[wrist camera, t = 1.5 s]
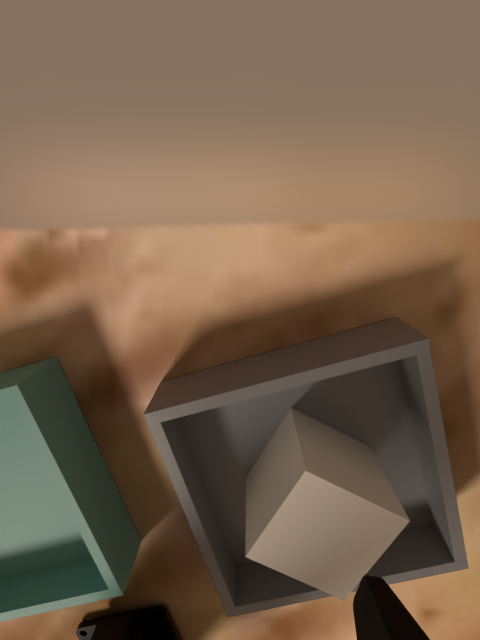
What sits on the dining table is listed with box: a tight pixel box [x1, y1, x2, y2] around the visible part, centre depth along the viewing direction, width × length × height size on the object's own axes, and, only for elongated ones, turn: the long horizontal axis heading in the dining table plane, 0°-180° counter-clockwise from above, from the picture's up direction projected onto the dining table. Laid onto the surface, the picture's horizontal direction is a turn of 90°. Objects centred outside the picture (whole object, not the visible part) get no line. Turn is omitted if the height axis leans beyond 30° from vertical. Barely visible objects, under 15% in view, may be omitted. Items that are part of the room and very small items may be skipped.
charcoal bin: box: [144, 317, 468, 617], centre depth 19 cm, size 13×13×4 cm
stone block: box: [245, 408, 410, 600], centre depth 18 cm, size 5×5×5 cm
